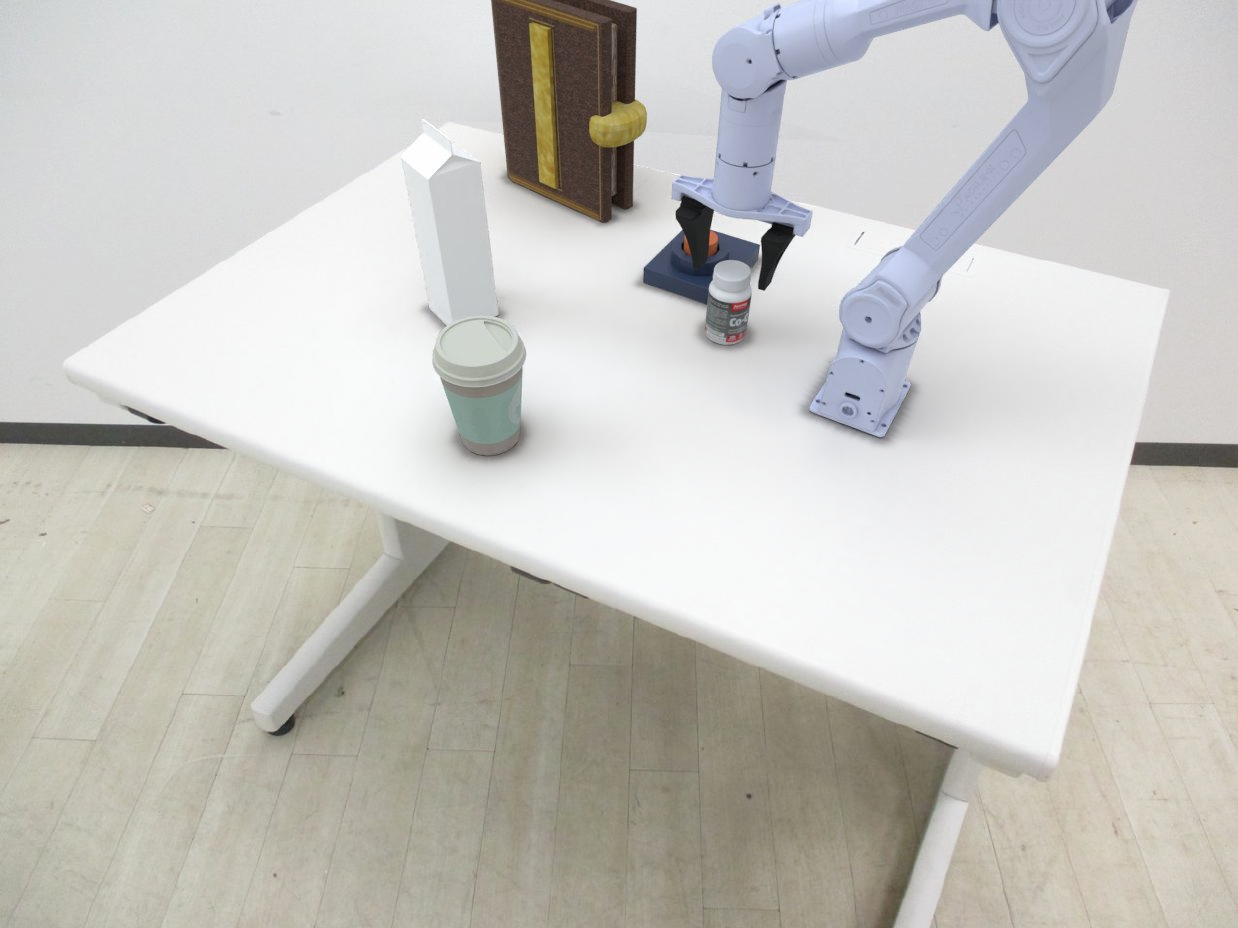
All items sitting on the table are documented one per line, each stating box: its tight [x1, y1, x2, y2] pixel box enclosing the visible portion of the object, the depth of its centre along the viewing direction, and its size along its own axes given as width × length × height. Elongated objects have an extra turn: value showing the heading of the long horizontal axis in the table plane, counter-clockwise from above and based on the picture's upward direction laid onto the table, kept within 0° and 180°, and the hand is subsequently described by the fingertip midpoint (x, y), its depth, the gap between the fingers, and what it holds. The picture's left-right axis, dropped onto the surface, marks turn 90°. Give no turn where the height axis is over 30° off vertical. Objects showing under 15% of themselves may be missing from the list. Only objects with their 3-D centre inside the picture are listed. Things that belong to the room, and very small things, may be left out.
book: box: [490, 0, 648, 224], centre depth 109 cm, size 22×8×25 cm, turn 50°
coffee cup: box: [431, 316, 527, 456], centre depth 80 cm, size 8×8×12 cm
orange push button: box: [684, 229, 718, 257], centre depth 101 cm, size 4×4×2 cm
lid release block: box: [642, 229, 761, 305], centre depth 104 cm, size 12×10×4 cm
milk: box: [400, 118, 500, 327], centre depth 91 cm, size 6×6×22 cm
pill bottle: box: [704, 260, 753, 346], centre depth 93 cm, size 5×5×8 cm
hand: (731, 275), depth 91 cm, fingers open, 7 cm apart
